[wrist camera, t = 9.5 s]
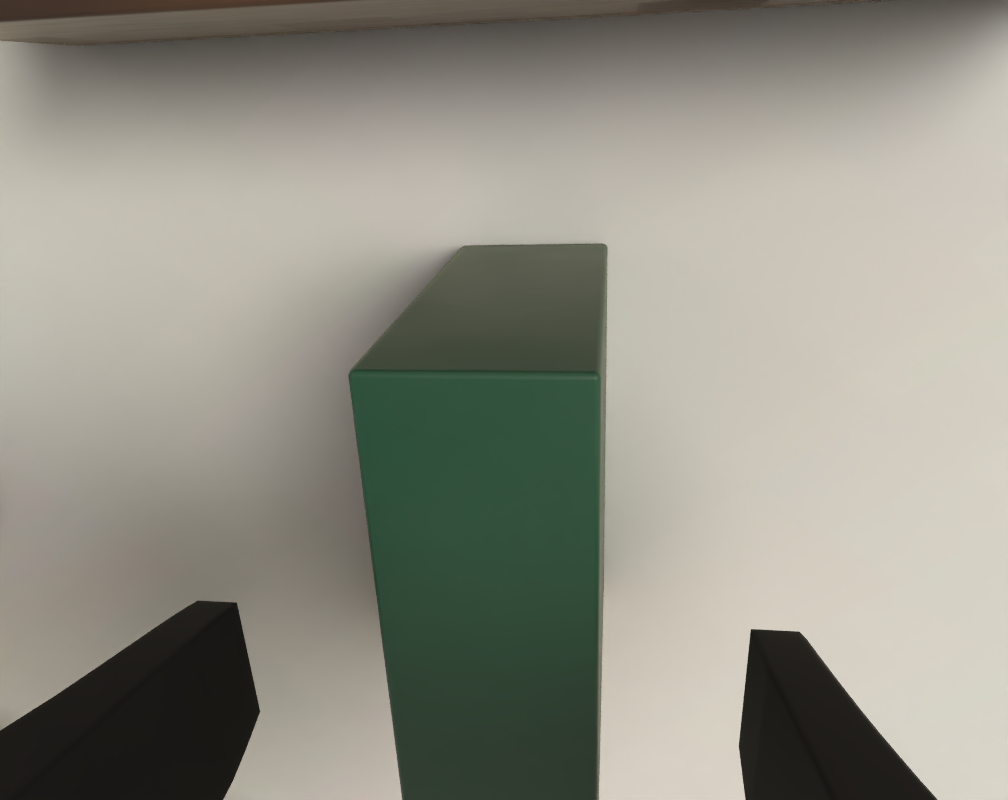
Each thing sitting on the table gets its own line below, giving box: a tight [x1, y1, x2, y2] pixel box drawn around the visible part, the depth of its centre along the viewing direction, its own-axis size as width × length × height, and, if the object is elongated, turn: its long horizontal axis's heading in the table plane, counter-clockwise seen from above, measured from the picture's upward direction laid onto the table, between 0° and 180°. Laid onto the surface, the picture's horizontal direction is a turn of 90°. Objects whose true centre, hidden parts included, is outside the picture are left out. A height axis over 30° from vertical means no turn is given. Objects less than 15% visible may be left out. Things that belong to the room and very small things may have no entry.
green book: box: [348, 244, 607, 800], centre depth 14 cm, size 3×9×8 cm, turn 2°
